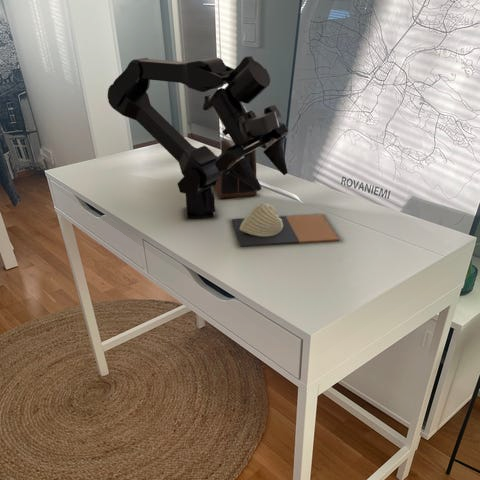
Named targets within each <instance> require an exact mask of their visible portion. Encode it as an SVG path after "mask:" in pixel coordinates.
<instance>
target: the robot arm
mask: <svg viewBox="0 0 480 480" xmlns="http://www.w3.org/2000/svg"><path fill="white" fill-rule="evenodd" d="M151 81H159V82H168V83H179V84H182V85H184V86H185V87H187V88H189V89H191V90H193V91H197V92H201V93H206V92H208V91H212V90H216V91H215V92H213V94H208V95H205V96H204V100H203V101H204V102H203V106H202V110H203V111H204V112H205V111H208V110H211V109H212V110H213V111H214V113H215V114H216V115H217V118H218V119H219V121H220V123H221V124H222V126H223V128H224V129H223V130H222V134H223V135H224V136H228V135H229V137H230V139H231V141H232V142H233V143H234V145H231V146H232V147H230V148H228V149H226V150H225V151H224V152H223V153H222V154H221V153H220V154H218V155H216V154H215V153H214V152H213V151H212V150H211V149H210V148H209V147H208V146H206V145H203V146H200V147H195V146H193V145H192V144H191V143H190V142H189V141H188V140H187V138H185V137H184V136H183V135H182V134H181V133H180V132H179V131H178V130H177V129H176V128H175V127H174V126H173V125H172V124H171V123H170V122H169V121H168V120H167V119H165V117H164V116H162V115H161V114H160V112H159V111H157V110H156V109H155V108H154V106H152V104H151V101H150V100H151V99H150V97H149V94H148V93H147V92H148V90H149V89H150V85H151V84H150V83H151ZM271 82H272V81H271V77H270V74H269V71H268V70H267V69H266V68H265V67H264V66H263V65H262V64H261V63H259V62H258V61H256V60H255V59H254V57H253V56H252V55H249V56H248V55H247V56H245V57H243V58H242V60H241V61H240V63H239V64H238V65H237V66H236V67H235V68H233V67H230V66H228V65H226V64H225V62H224V61H223V59H222V58H220V57H211V58H210V57H209V58H205V59H199V60H194V61H193V60H192V61H180V60H179V61H177V60H163V59H153V58H152V59H151V58H148V57H141V58H136V59H132V60H131V61H130V62H129V63H128V64H127V66H126V68H125V69H124V71H122V72H121V74H119V75H118V76H117V78H115V80H114V81H113V83H112V84H111V85H109V87H108V89H107V101H108V104H109V106H110V107H111V108H112V109H113V110H114V111H116V112H117V113H118V114H120V115H121V116H123V117H126V118H128V119H131V120H134V121H136V122H137V123H138V124H139V125H140V126H141V127H142V128H143V129H144V130H145V131H146V132H147V133H148V134H149V135H150V136H151V137H152V138H153V139H154V140H155V141H156V142H157V143H158V144H159V145H160V146H161V147H163V149H165V150H166V151H167V153H169V154H170V155H171V156H172V158H174V159H175V160H176V161H177V162H178V165H179V168H180V172H181V175H182V176H183V177H182V178H181V179H180V180H179V181H178V182H177V187H178V190H179V192H180V194H185V195H184V196H185V215H186V218H187V219H204V218H206V219H207V218H214V217H215V214H214V213H216V203H215V202H216V201H215V193H214V192H213V190H212V188H214V186H216V184H217V180H218V179H219V178H220V176H221V172H223V171H225V170H226V169H228V170H227V171H226V172H225V173H226V174H228V173H229V174H231V175H233V176H235V177H236V178H238V179H240V180H242V181H243V182H245V183H246V184H248V185H249V186H251V187H252V188H254V189H255V190H257V192H259V191H261V190H262V186H261V183H260V181H259V180H258V178H257V175H256V176H255V174H254V172H253V171H252V169H251V167H250V165H249V155H248V156H246V157H244V155H246V154H248V153H250V152H251V151H253V150H255V149H256V150H257V149H259V148H262V149H264V150H263V151H262V152H263V154H264V155H265V156H266V157H267V158H268V160H269V161H270V162H271V163H272V164H273V165H274V167H275V168H276V169H277V170H278V171H279V172H280V173H281V174H282V175H283V176H286V175H287V174H288V172H289V171H288V167H287V162H286V157H285V151H284V144H285V140H286V139H287V134H288V133H289V129H288V127H287V126H286V124H285V123H284V122H279V121H281V120H282V114H281V113H280V110H279V109H278V108H277V106H276V105H275V104H273V105H269V106H267V107H265V108H263V109H264V111H263V113H262V114H259V115H256V112H255V111H253V110H250V111H249V110H247V108H246V106H245V105H244V104H248V105H249V104H251V103H252V102H253V101H254V100H255V99H256V98H257V97H259V95H261V94H262V93H263V92H264V91H265V90H266V89H267V88H269V86H270V85H271ZM225 85H226V86H225ZM224 86H225V87H224ZM223 87H224V88H223ZM209 149H210V150H211V151H212V152H213V153H214V154H215V155H214V154H213V153H212V152H211V151H210V150H209Z"/></svg>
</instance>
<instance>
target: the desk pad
mask: <svg viewBox="0 0 480 480" xmlns="http://www.w3.org/2000/svg"><path fill="white" fill-rule="evenodd" d="M279 218H280V219H282V223H283V228H282V230H281V231H280V232H279V233H278V234H276V235H274V236H269V237H260V236H255V235H251V234H248V233H245V232H243V231H241V230H240V226H241V223H242V222H243V220H244V219H245V218H232V224H233V227H234V230H235V233H236V236H237V239H238V244H239V246H240V247H241V248H242V247H258V246H275V245H289V244H306V243H308V244H309V243H323V242H324V243H325V242H339V241H340V238H339V237H338V235H337V234H336V232H335V231H334V230H333V228H332V227H331V225H330V224H329V222H328V221H327V220H326V218H325V217H324V216H323V214H322V213H319V214H317V213H316V214H302V215H300V214H299V215H283V216H281V215H280V216H279Z"/></svg>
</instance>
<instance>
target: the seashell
mask: <svg viewBox="0 0 480 480" xmlns="http://www.w3.org/2000/svg"><path fill="white" fill-rule="evenodd" d="M279 217H280V215H279V213H278V212H277V210H276V208H275V207H274V206H272V205H271V204H270V203H268V202H264V201H263V202H261V203H259V204H258V205H257V206H255V207H254V208H253V209H252V210H251V212H250V213H249V214H248V215H247V216H246V217H245V218H243V219H244V220H243V222H242V223H241V226H240V230H241V231H243V232H245V233H248V234H251V235H255V236H260V237H269V236H274V235H276V234H278V233H279V232H280V231H281V230H282V228H283V223H282V219H280V218H279Z"/></svg>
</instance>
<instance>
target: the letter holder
mask: <svg viewBox="0 0 480 480" xmlns="http://www.w3.org/2000/svg"><path fill="white" fill-rule="evenodd" d="M232 146H233V145H232V144H231V143H230V142H229V141H228V140H227V139H225V138H221V140H220V152H221V153H220V154H222V153H223V152H224V151H225V150H226V149H228V148H230V147H232ZM208 149H209V150H210V151H211V152H212V153H213V154H214V155H216V154H215V153H214V151H212V150H211V149H210V148H208ZM248 155H249V165H250V167H251V169H252V171H253V172H254V174H255V176H256V177H257V149H255V150H253V151H251V152H250V153H248V154H246V155H244V157H246V156H248ZM227 170H228V169H226V170H225V171H223V172H221V176H220V178H219V179H218V180H217V184H216V186H213V188H214V189H215V191H216V193H217V195H218V196H219V197H220V199H228V198H229V199H231V198H239V197H249V196H250V197H253V196H256V195H257V192H258V191H257V190H255V189H254V188H252V187H251V186H249V185H248V184H246V183H245V182H243V181H242V180H240V179H238V178H236V177H235V176H233V175H231V174H229V173H228V174H226V173H225V172H226V171H227Z"/></svg>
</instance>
